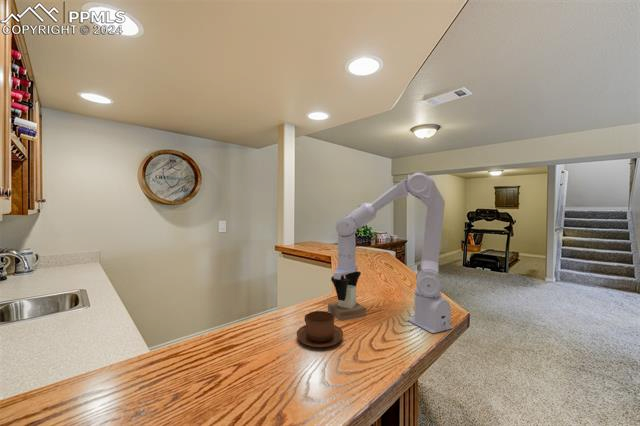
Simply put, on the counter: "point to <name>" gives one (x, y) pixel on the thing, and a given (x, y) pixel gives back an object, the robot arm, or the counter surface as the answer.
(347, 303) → the sage block
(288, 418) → the counter surface
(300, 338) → the cup and saucer
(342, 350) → the counter surface
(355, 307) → the walnut slab
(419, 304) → the robot arm
